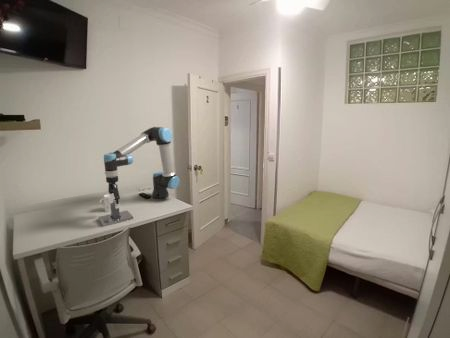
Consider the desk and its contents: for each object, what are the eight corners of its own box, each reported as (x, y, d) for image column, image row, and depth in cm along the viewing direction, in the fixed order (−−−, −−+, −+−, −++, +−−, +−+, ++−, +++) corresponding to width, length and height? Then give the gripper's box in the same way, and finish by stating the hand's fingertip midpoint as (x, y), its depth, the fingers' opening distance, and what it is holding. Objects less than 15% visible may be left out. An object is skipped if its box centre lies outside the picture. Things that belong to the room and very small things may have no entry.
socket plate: (127, 212, 177) (127, 209, 176) (133, 219, 166) (133, 215, 166) (98, 219, 164) (97, 216, 164) (102, 226, 154) (102, 223, 153)
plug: (118, 217, 168) (116, 199, 165) (120, 219, 165) (118, 201, 162) (111, 219, 166) (109, 200, 163) (113, 221, 162) (111, 202, 159)
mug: (101, 213, 174) (99, 198, 172) (99, 209, 181) (98, 195, 179) (117, 210, 181) (116, 195, 178) (115, 206, 188) (114, 192, 185)
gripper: (101, 173, 165) (105, 201, 170) (110, 181, 147) (113, 212, 151) (113, 171, 170) (115, 199, 175) (122, 179, 151) (125, 209, 156)
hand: (115, 205), depth 163 cm, fingers open, 13 cm apart
